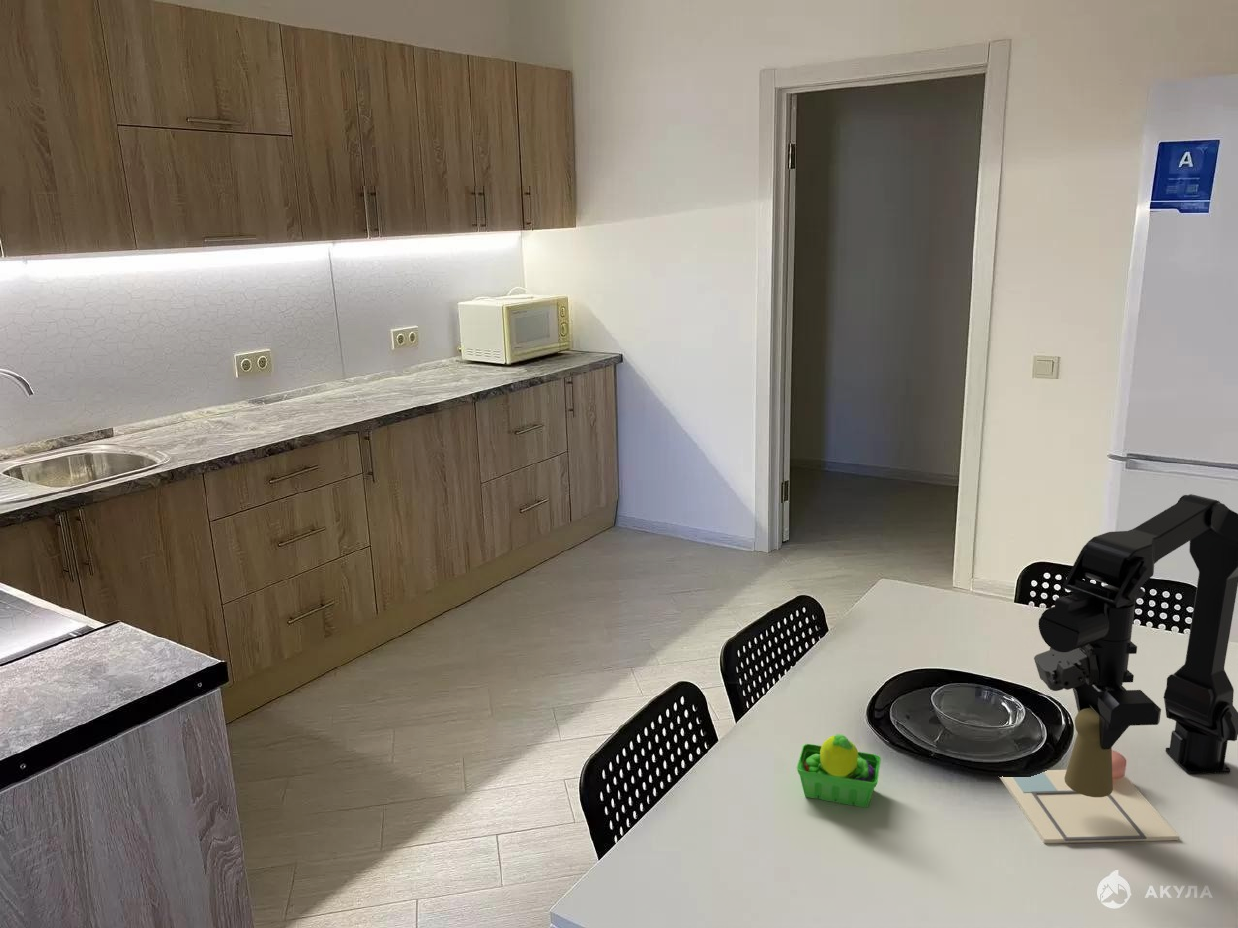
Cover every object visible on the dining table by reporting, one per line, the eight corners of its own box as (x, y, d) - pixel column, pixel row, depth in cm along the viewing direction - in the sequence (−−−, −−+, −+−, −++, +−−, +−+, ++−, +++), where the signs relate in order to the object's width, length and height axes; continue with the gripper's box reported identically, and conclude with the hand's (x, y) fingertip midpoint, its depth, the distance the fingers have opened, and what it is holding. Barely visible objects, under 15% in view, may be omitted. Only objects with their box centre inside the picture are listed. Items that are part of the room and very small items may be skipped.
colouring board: (1118, 771, 143) (1118, 766, 143) (1180, 841, 127) (1181, 836, 127) (998, 774, 143) (998, 769, 143) (1045, 845, 127) (1045, 839, 127)
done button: (1114, 759, 143) (1115, 747, 143) (1131, 778, 138) (1133, 766, 138) (1080, 760, 143) (1082, 748, 143) (1097, 779, 138) (1098, 767, 138)
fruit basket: (880, 784, 142) (883, 716, 139) (875, 819, 134) (878, 748, 131) (802, 772, 145) (804, 705, 142) (793, 805, 137) (795, 736, 134)
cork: (1118, 799, 128) (1128, 727, 125) (1070, 795, 129) (1079, 724, 126) (1105, 772, 134) (1115, 703, 131) (1059, 768, 135) (1067, 700, 132)
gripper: (1016, 605, 134) (1008, 704, 138) (1078, 666, 116) (1066, 779, 120) (1096, 603, 134) (1085, 702, 138) (1169, 664, 116) (1155, 776, 120)
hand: (1095, 737), depth 129 cm, fingers closed on cork, 5 cm apart
